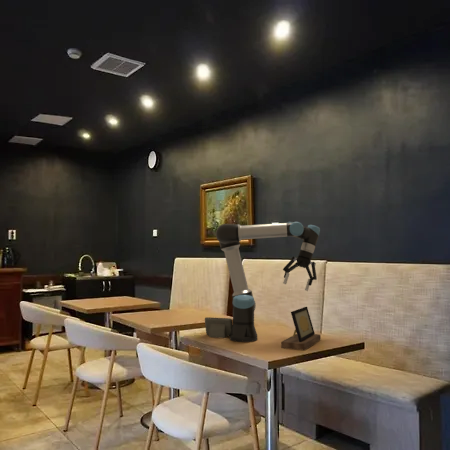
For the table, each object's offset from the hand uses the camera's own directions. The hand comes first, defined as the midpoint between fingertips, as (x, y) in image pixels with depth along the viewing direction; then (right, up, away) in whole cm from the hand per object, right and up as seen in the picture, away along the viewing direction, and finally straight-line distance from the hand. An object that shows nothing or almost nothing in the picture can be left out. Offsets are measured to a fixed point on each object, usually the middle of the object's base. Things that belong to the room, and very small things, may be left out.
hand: (295, 287), depth 245 cm
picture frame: (0, -24, -17) cm, 30 cm away
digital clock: (-43, -28, +1) cm, 51 cm away
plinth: (0, -27, -19) cm, 33 cm away
